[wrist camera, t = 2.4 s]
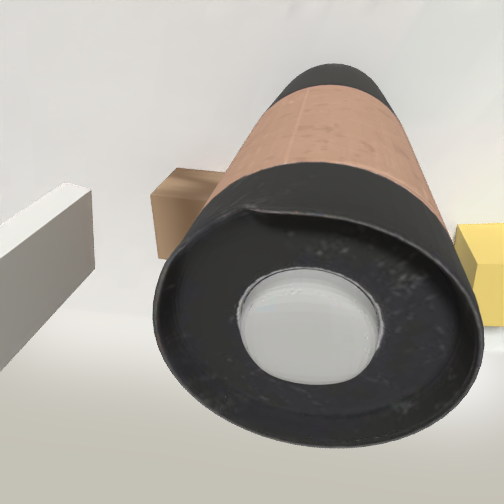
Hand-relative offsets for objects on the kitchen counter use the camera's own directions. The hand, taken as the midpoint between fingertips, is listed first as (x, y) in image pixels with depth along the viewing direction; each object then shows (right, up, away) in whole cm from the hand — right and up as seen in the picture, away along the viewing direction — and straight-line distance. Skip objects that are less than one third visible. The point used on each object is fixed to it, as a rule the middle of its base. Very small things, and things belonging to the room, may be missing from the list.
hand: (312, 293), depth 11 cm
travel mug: (+3, +10, +15) cm, 18 cm away
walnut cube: (-5, +5, +19) cm, 21 cm away
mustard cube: (+16, +1, +17) cm, 23 cm away
